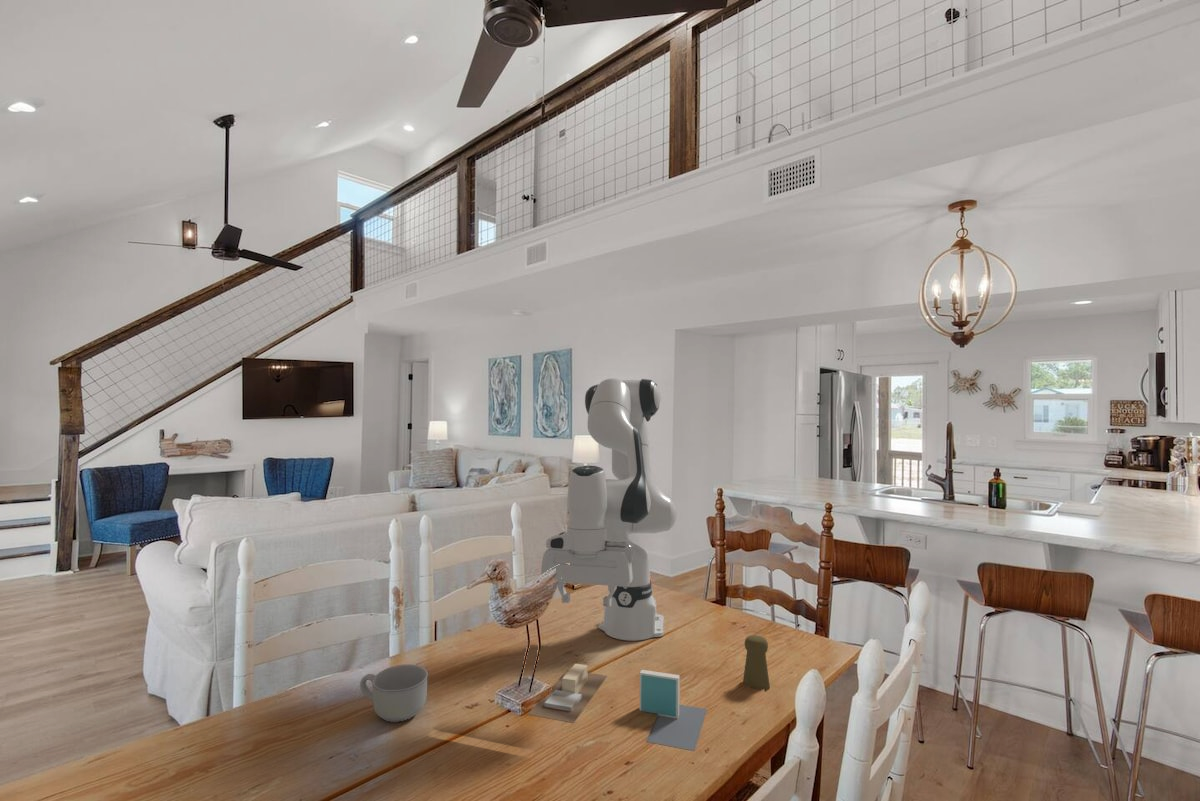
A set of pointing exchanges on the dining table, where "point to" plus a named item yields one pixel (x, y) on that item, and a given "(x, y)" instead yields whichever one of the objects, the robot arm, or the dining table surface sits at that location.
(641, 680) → the tile
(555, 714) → the board
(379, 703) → the teacup
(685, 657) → the dining table surface
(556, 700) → the beige upright plank
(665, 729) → the mat
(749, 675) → the olive green pawn
